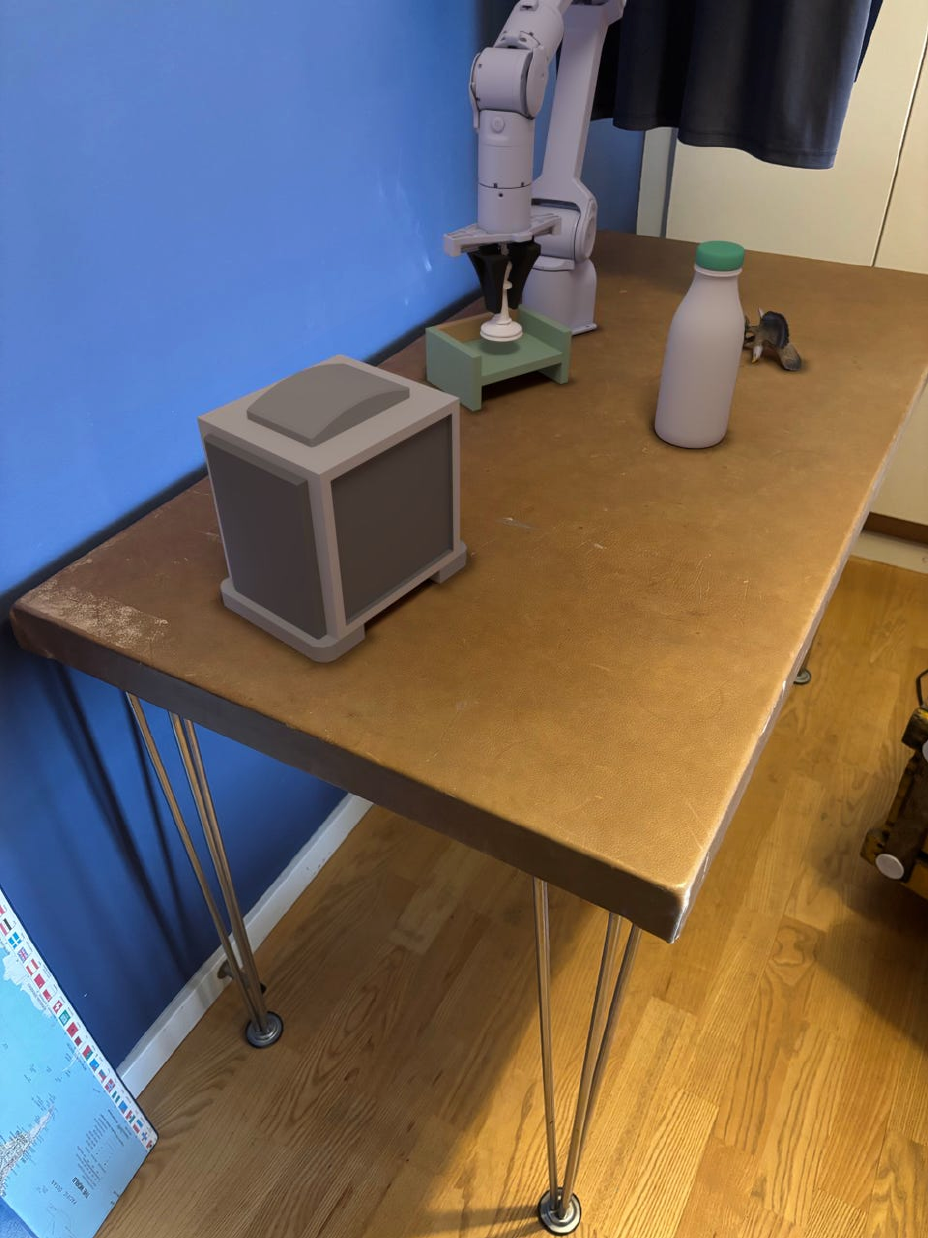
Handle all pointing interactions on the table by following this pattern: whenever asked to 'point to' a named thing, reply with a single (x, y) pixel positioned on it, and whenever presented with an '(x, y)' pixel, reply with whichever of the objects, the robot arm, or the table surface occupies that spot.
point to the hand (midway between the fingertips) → (501, 308)
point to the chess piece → (502, 316)
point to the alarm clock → (334, 499)
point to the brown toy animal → (772, 338)
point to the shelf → (494, 353)
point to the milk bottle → (703, 351)
